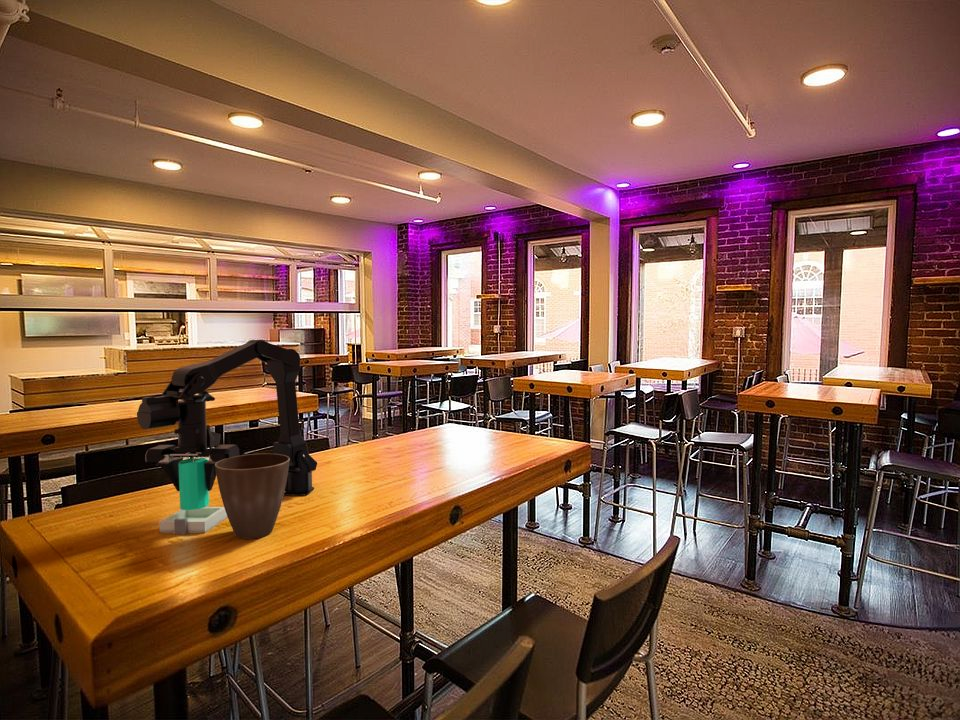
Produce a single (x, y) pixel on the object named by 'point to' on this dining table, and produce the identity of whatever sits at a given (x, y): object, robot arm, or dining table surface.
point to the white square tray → (193, 520)
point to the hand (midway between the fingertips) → (194, 490)
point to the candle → (193, 484)
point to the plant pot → (252, 491)
